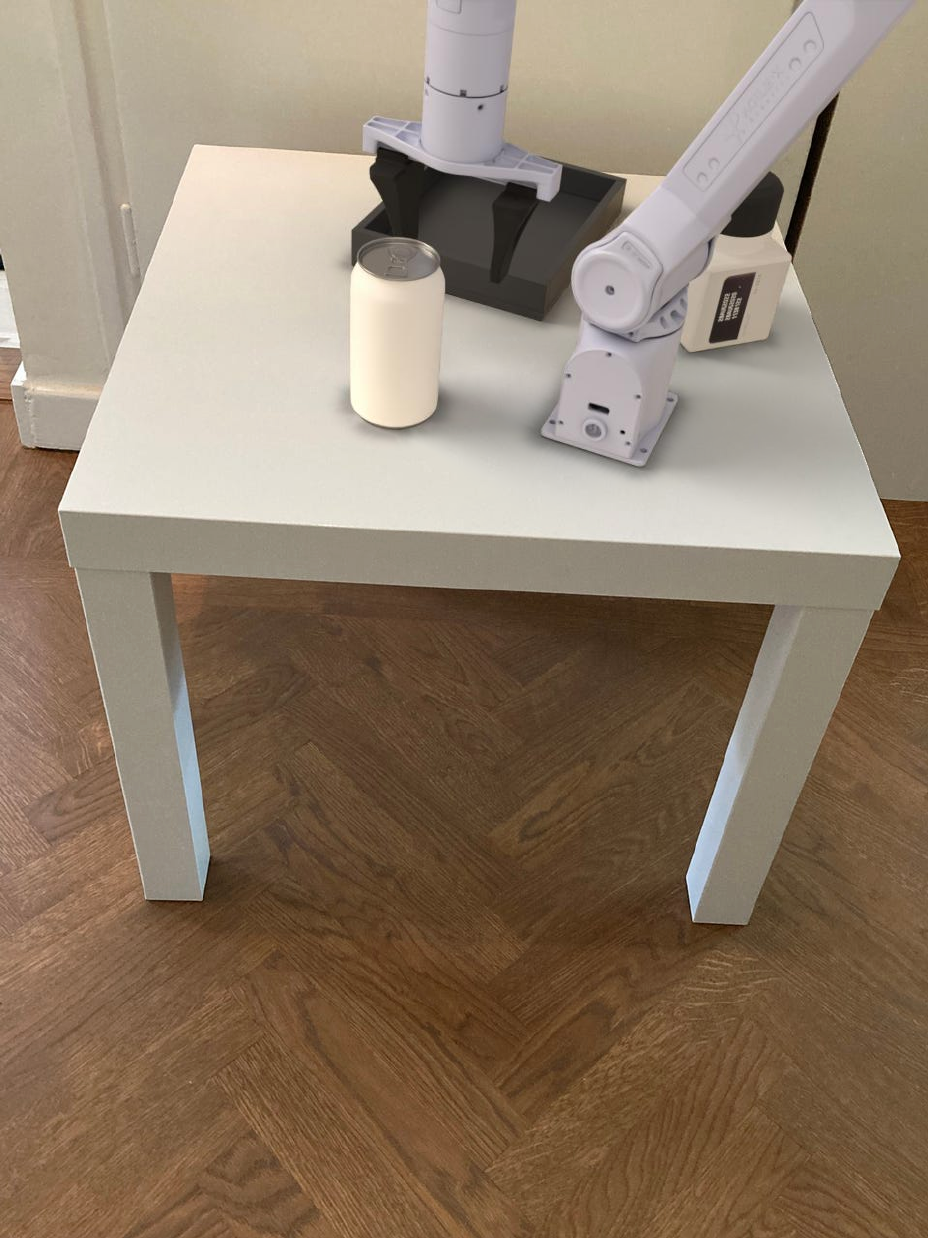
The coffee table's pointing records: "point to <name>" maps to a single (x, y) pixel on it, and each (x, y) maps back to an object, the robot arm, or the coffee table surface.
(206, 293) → the coffee table surface
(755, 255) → the container
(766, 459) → the coffee table surface
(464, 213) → the tray
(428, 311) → the can
